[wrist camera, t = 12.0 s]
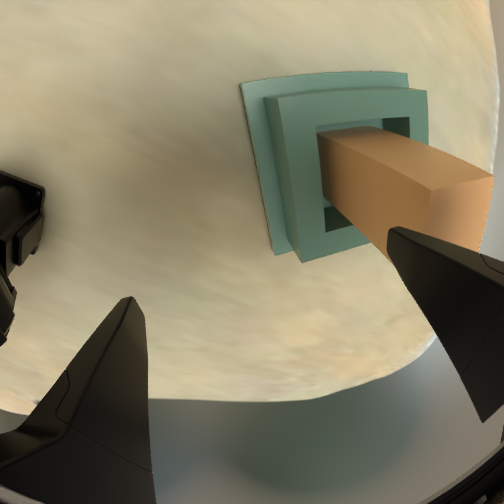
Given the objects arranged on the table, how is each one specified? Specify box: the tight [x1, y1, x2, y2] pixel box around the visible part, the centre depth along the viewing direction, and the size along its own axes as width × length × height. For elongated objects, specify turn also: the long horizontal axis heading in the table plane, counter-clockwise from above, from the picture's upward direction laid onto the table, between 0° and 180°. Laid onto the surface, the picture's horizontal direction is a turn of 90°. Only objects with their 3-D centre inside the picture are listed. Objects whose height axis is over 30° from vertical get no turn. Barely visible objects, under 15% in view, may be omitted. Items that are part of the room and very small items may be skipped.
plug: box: [316, 126, 494, 265], centre depth 16 cm, size 5×5×12 cm
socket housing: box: [240, 72, 428, 263], centre depth 19 cm, size 14×14×4 cm
